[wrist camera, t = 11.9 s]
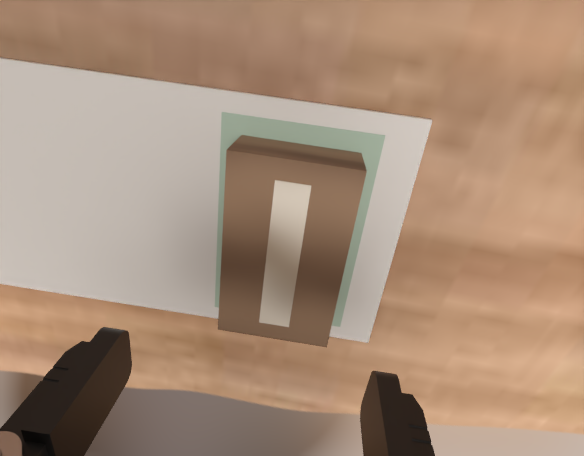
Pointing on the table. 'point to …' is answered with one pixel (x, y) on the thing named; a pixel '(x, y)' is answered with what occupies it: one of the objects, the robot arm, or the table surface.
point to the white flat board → (172, 186)
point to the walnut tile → (286, 237)
